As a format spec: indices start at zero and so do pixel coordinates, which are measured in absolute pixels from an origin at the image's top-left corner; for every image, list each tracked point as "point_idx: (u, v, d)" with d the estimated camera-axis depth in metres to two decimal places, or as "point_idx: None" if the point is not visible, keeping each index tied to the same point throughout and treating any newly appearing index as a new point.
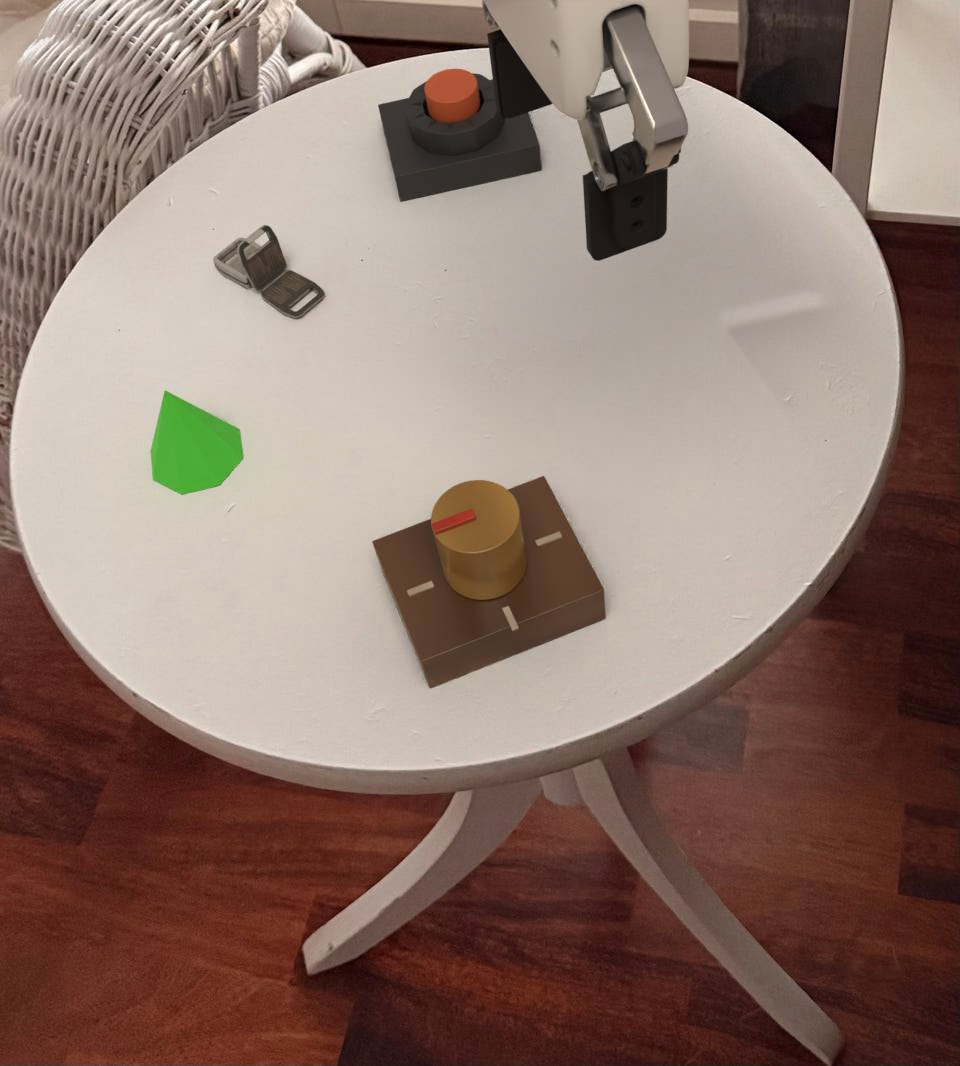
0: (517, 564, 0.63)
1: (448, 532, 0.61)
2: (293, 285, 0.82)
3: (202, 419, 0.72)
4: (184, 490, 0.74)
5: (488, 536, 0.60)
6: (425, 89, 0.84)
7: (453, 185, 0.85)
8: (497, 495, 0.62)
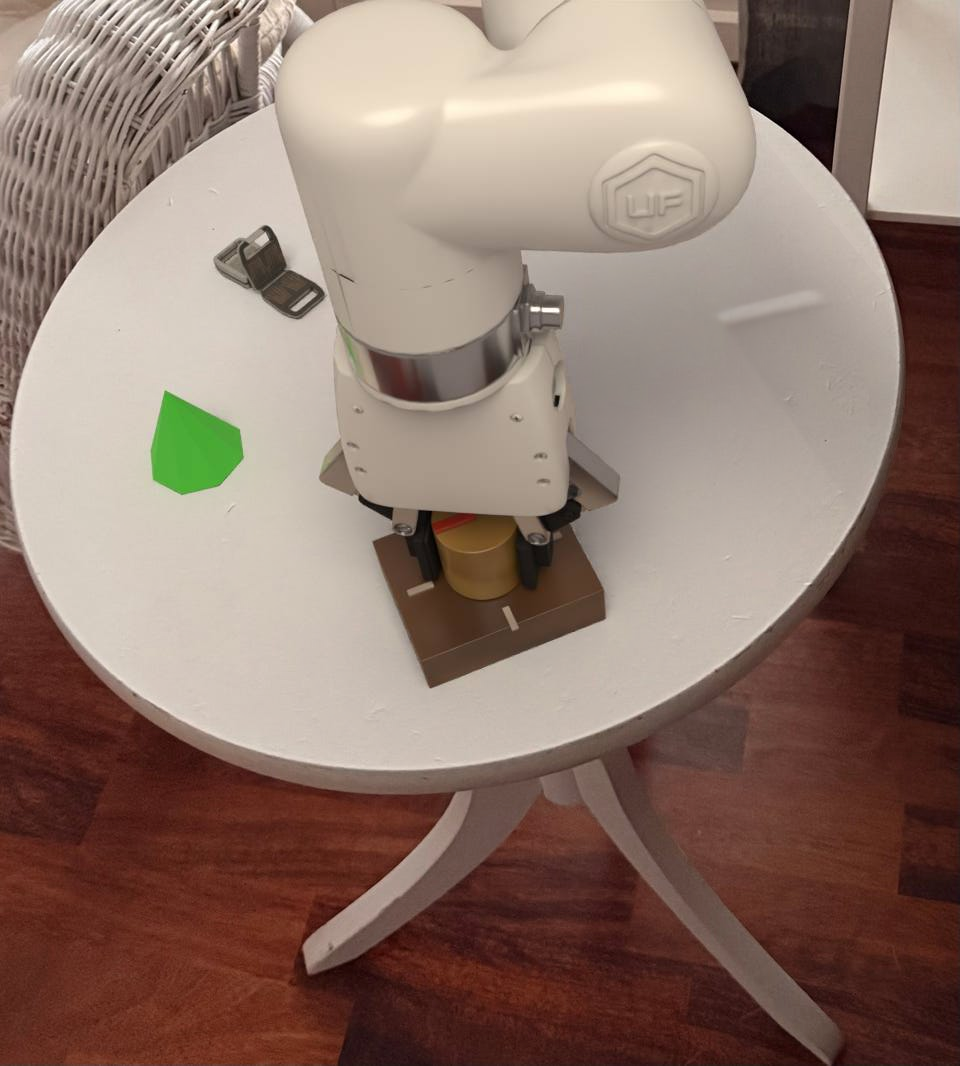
0: (517, 564, 0.63)
1: (448, 532, 0.61)
2: (293, 285, 0.82)
3: (202, 419, 0.72)
4: (184, 490, 0.74)
5: (487, 536, 0.60)
6: None
7: None
8: None
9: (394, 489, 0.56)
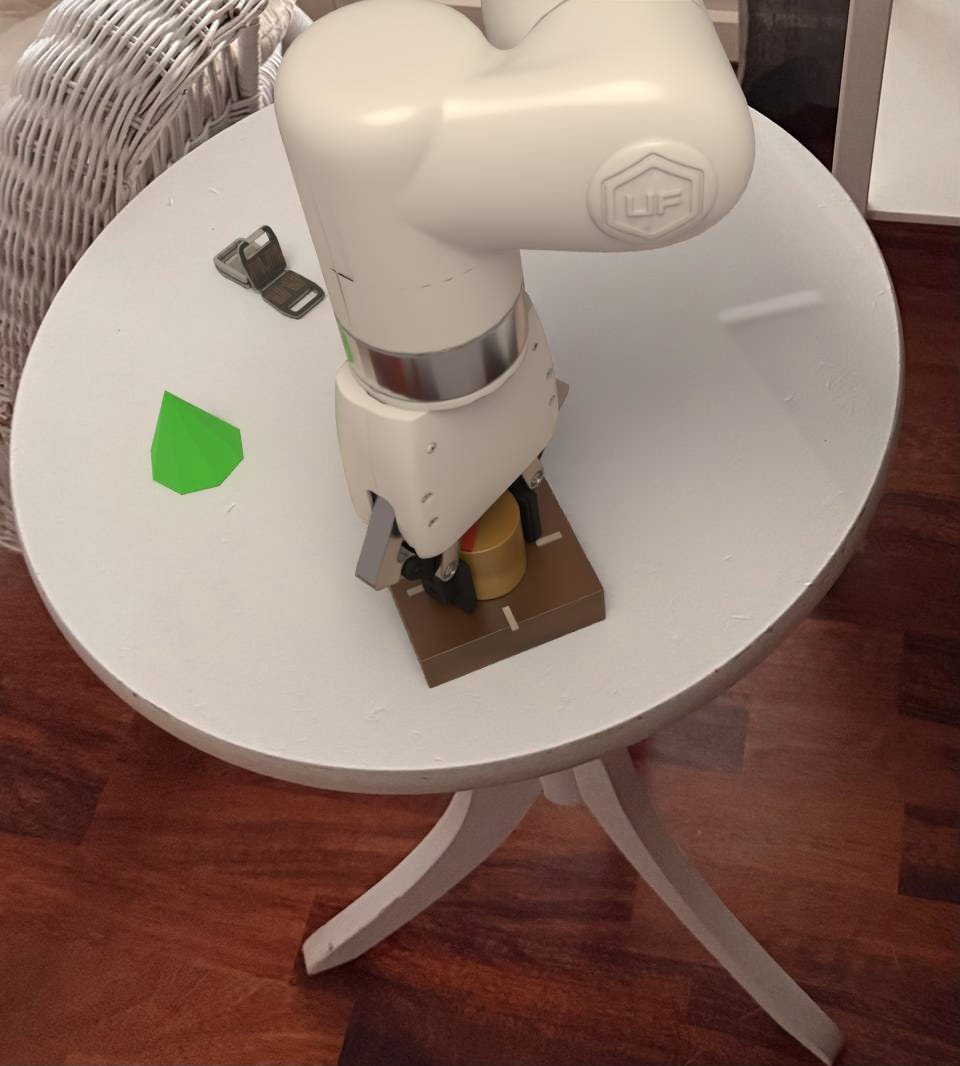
0: None
1: (476, 542, 0.60)
2: (293, 285, 0.82)
3: (202, 419, 0.72)
4: (184, 490, 0.74)
5: (504, 516, 0.61)
6: None
7: None
8: None
9: (458, 517, 0.55)
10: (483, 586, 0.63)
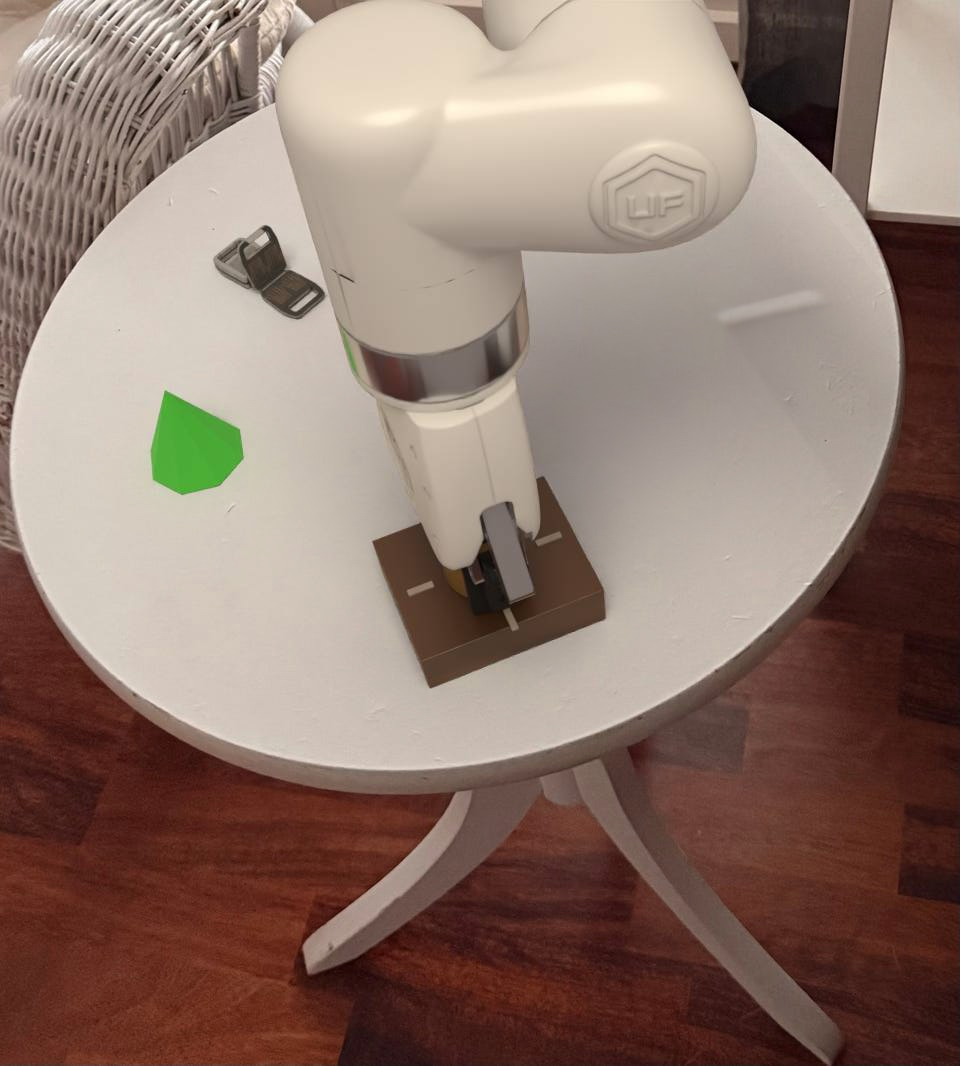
0: None
1: None
2: (293, 285, 0.82)
3: (202, 419, 0.72)
4: (184, 490, 0.74)
5: None
6: None
7: None
8: None
9: None
10: None
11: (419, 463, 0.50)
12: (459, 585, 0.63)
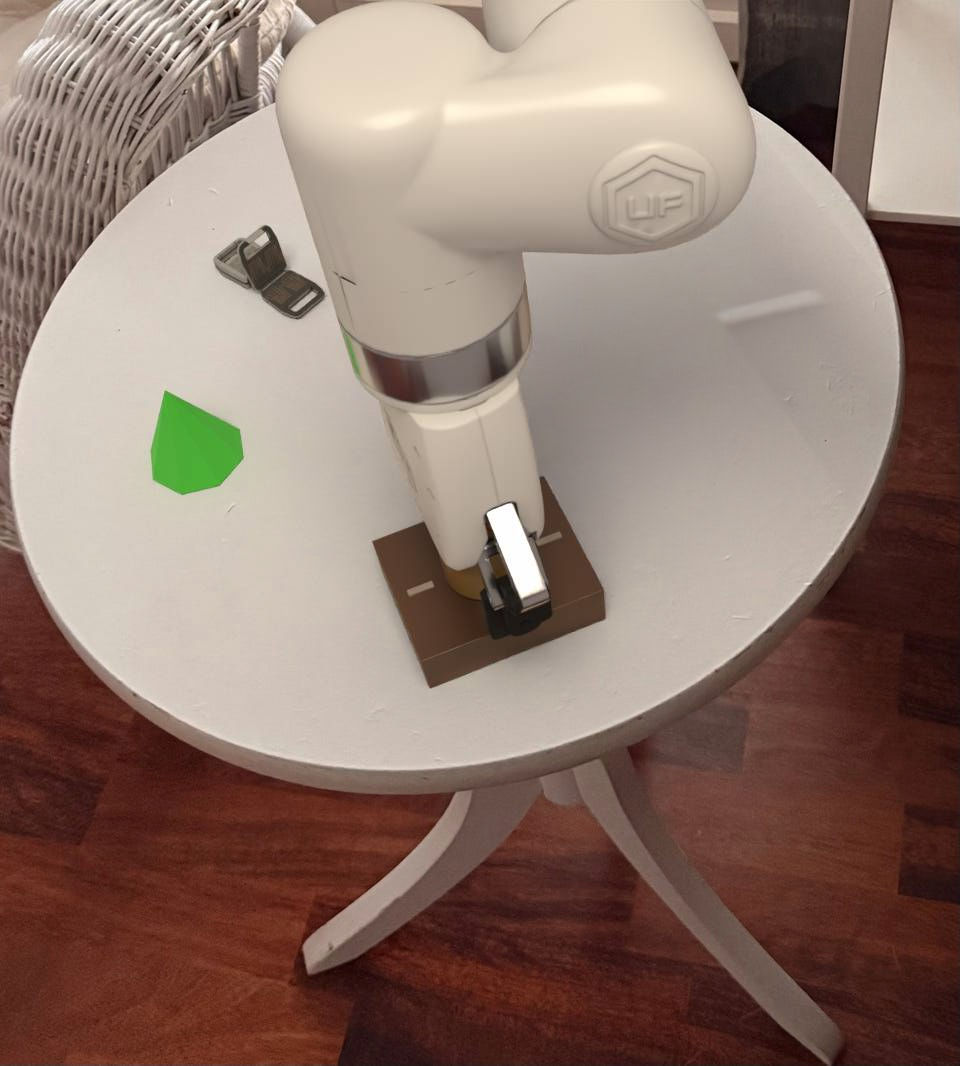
0: None
1: None
2: (293, 285, 0.82)
3: (202, 419, 0.72)
4: (184, 490, 0.74)
5: None
6: None
7: None
8: None
9: None
10: None
11: (423, 464, 0.50)
12: (458, 585, 0.63)
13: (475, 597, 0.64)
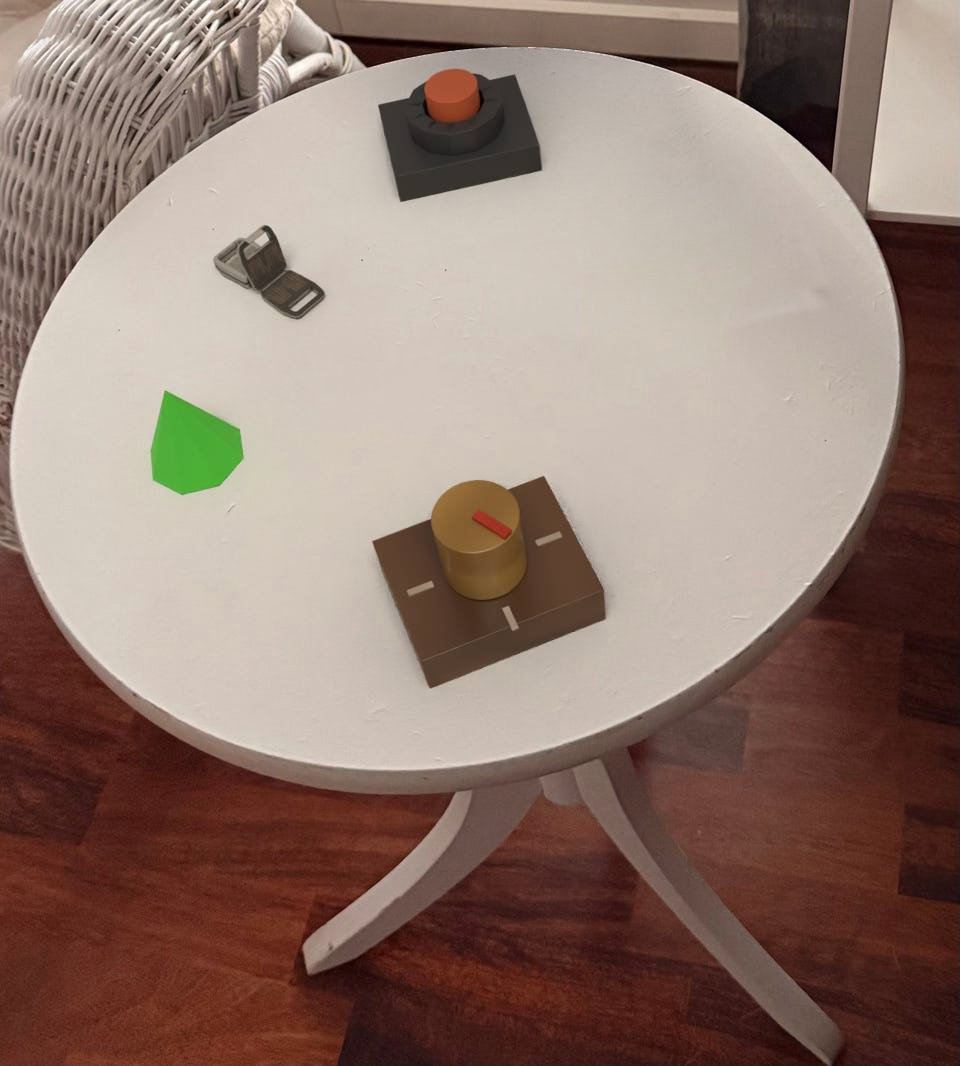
0: None
1: (504, 525, 0.61)
2: (293, 285, 0.82)
3: (202, 419, 0.72)
4: (184, 490, 0.74)
5: (491, 494, 0.62)
6: (425, 89, 0.84)
7: (453, 185, 0.85)
8: (444, 510, 0.62)
9: None
10: (520, 564, 0.63)
11: None
12: (458, 585, 0.63)
13: (475, 597, 0.64)
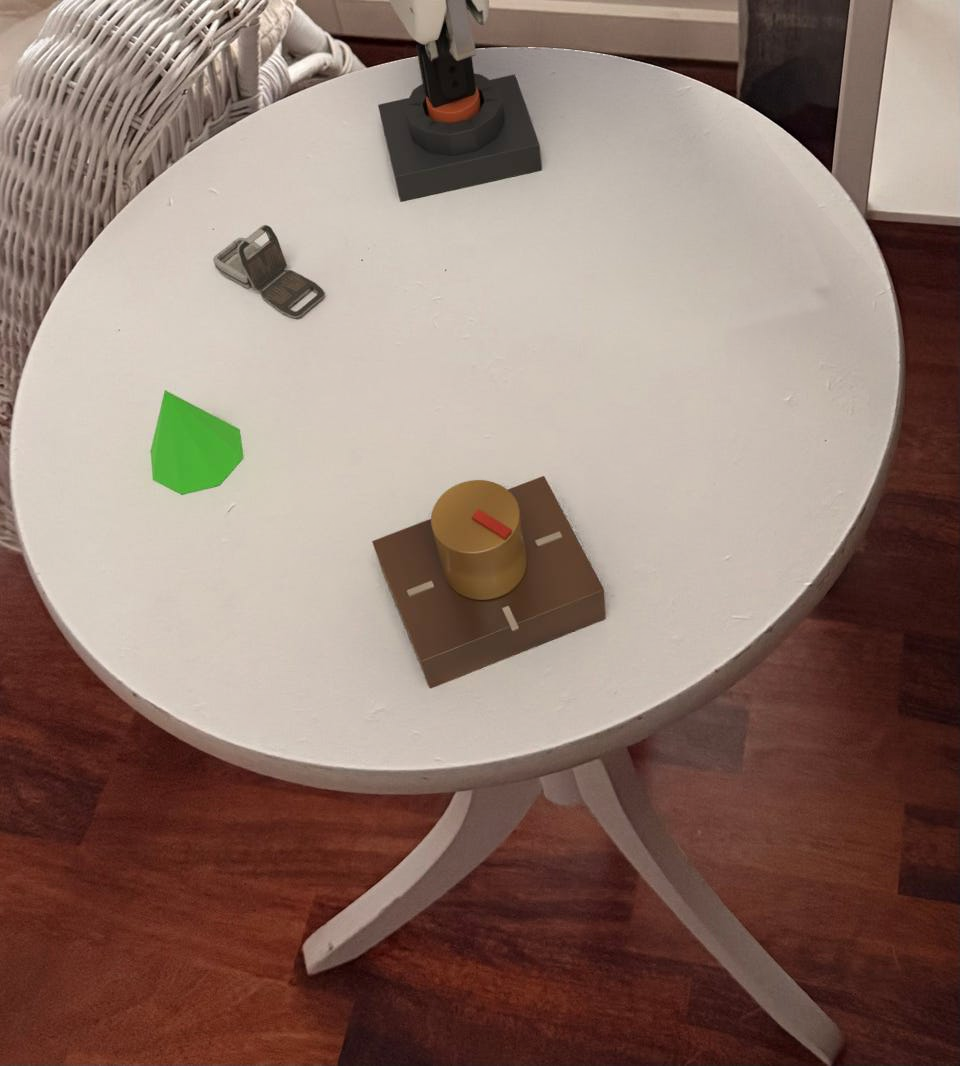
0: None
1: (504, 525, 0.61)
2: (293, 285, 0.82)
3: (202, 419, 0.72)
4: (184, 490, 0.74)
5: (491, 494, 0.62)
6: (427, 99, 0.84)
7: (453, 185, 0.85)
8: (444, 510, 0.62)
9: None
10: (520, 564, 0.63)
11: None
12: (458, 585, 0.63)
13: (475, 597, 0.64)
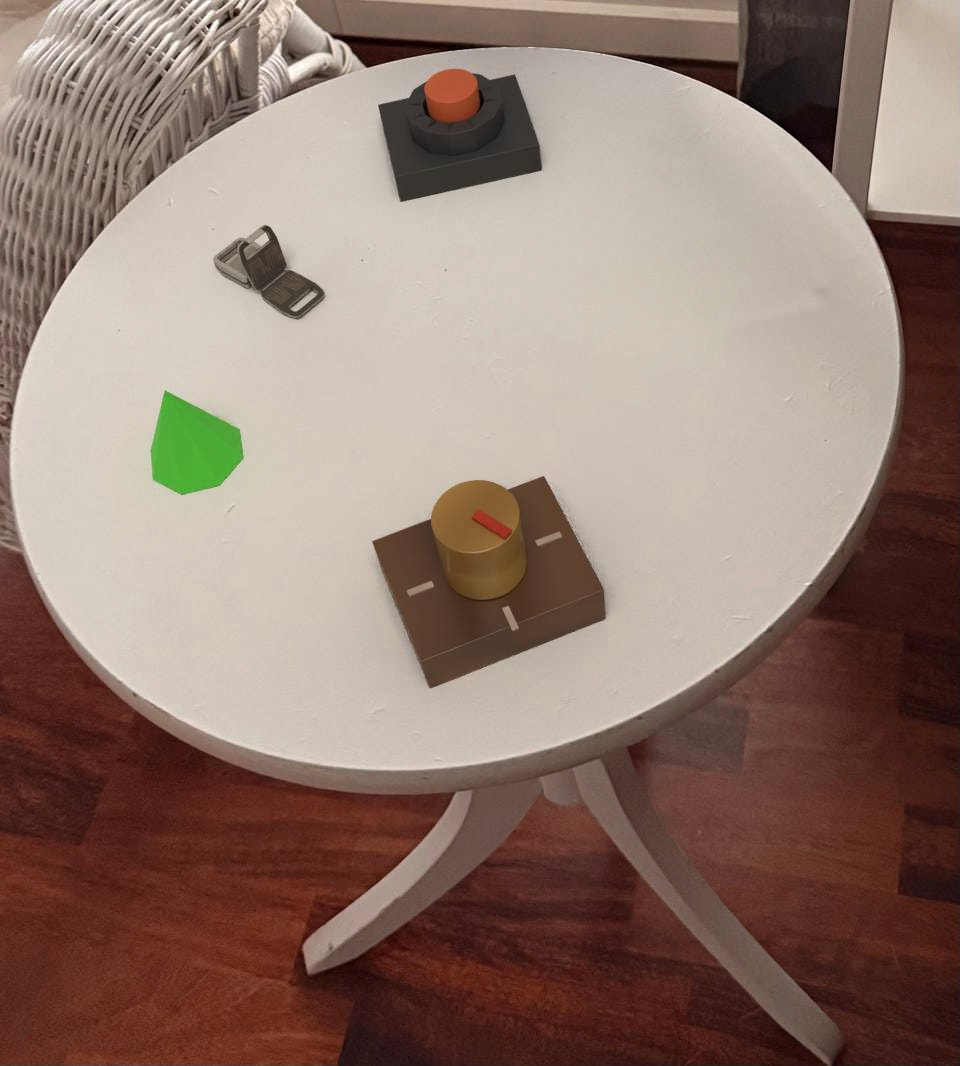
0: None
1: (504, 525, 0.61)
2: (293, 285, 0.82)
3: (202, 419, 0.72)
4: (184, 490, 0.74)
5: (491, 494, 0.62)
6: (425, 89, 0.84)
7: (453, 185, 0.85)
8: (444, 510, 0.62)
9: None
10: (520, 564, 0.63)
11: None
12: (458, 585, 0.63)
13: (475, 597, 0.64)
